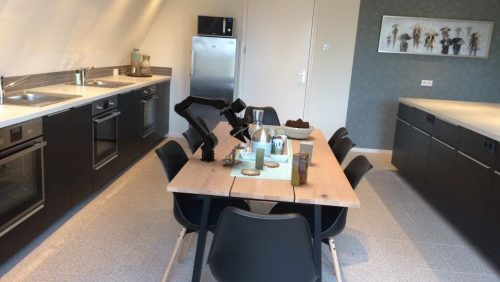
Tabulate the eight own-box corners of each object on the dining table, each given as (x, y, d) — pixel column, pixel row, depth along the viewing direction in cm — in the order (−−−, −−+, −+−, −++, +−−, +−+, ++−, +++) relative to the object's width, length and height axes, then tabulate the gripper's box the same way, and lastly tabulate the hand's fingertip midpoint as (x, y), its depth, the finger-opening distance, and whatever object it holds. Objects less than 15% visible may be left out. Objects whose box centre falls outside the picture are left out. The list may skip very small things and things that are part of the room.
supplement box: (310, 166, 239) (312, 144, 236) (297, 164, 240) (299, 143, 237) (311, 163, 246) (313, 142, 243) (298, 161, 247) (300, 141, 245)
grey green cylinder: (253, 168, 225) (254, 149, 223) (257, 167, 229) (258, 147, 227) (261, 170, 223) (262, 150, 221) (264, 168, 227) (266, 148, 225)
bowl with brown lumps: (315, 142, 308) (317, 122, 305) (281, 140, 308) (283, 120, 305) (310, 136, 333) (312, 117, 330) (279, 133, 333) (281, 115, 330)
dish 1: (237, 173, 214) (237, 171, 214) (245, 169, 223) (246, 167, 223) (254, 177, 210) (254, 175, 210) (262, 172, 219) (263, 171, 218)
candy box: (299, 180, 209) (302, 151, 206) (307, 182, 206) (310, 152, 203) (289, 184, 202) (292, 153, 199) (297, 186, 199) (300, 155, 196)
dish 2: (258, 165, 233) (258, 163, 232) (265, 161, 241) (266, 160, 241) (275, 168, 228) (275, 167, 228) (281, 164, 237) (282, 163, 237)
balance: (219, 166, 225) (220, 147, 223) (236, 159, 242) (237, 141, 240) (229, 168, 223) (230, 149, 221) (245, 161, 240) (246, 143, 238)
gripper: (238, 111, 216) (255, 136, 216) (248, 108, 233) (264, 130, 233) (222, 123, 220) (239, 148, 219) (233, 119, 237) (249, 141, 237)
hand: (248, 141), depth 227 cm, fingers open, 9 cm apart
